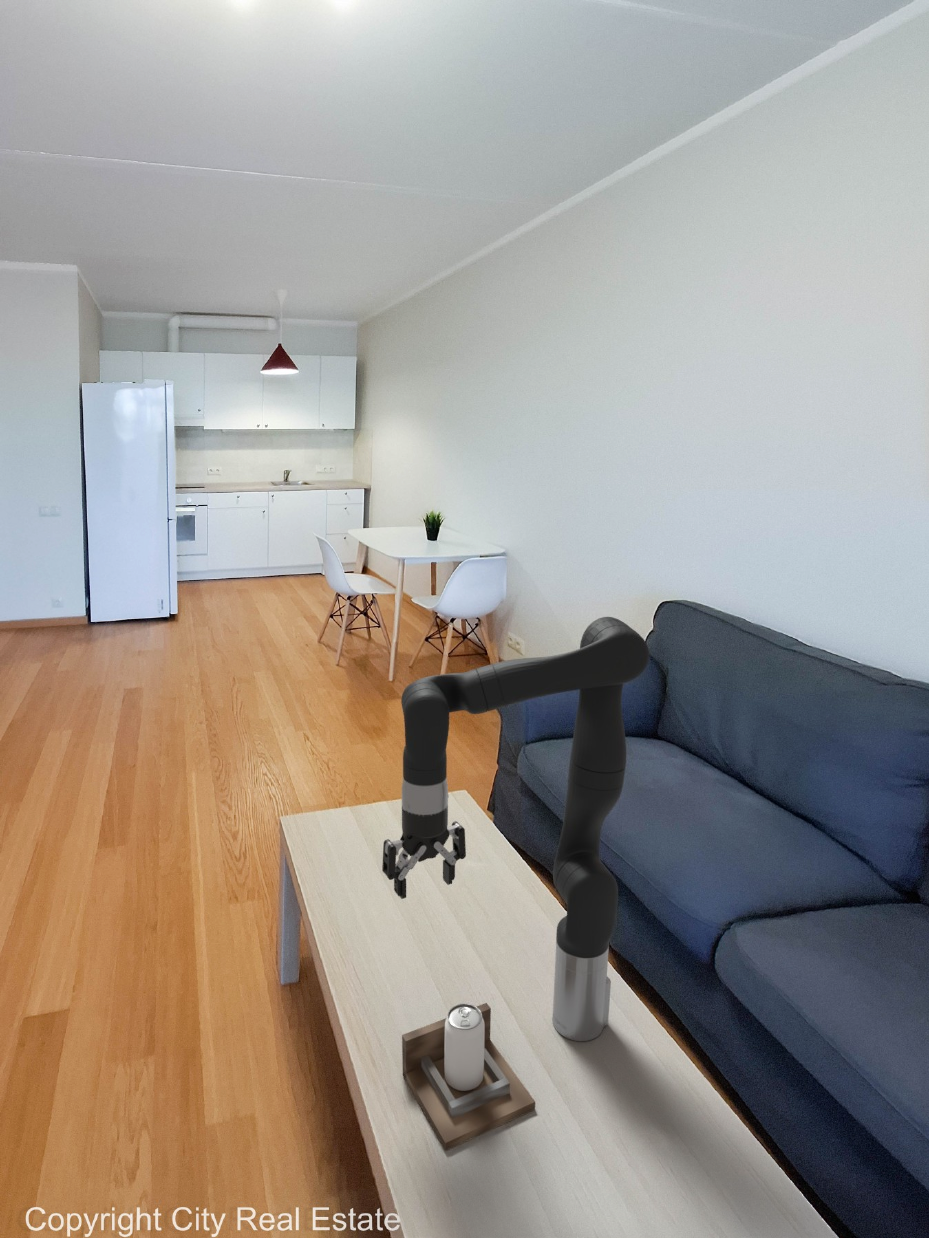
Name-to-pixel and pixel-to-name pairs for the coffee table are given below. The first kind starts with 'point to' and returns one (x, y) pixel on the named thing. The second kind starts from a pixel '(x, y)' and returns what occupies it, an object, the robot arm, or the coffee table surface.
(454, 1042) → the can
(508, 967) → the coffee table surface
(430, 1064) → the wall board
